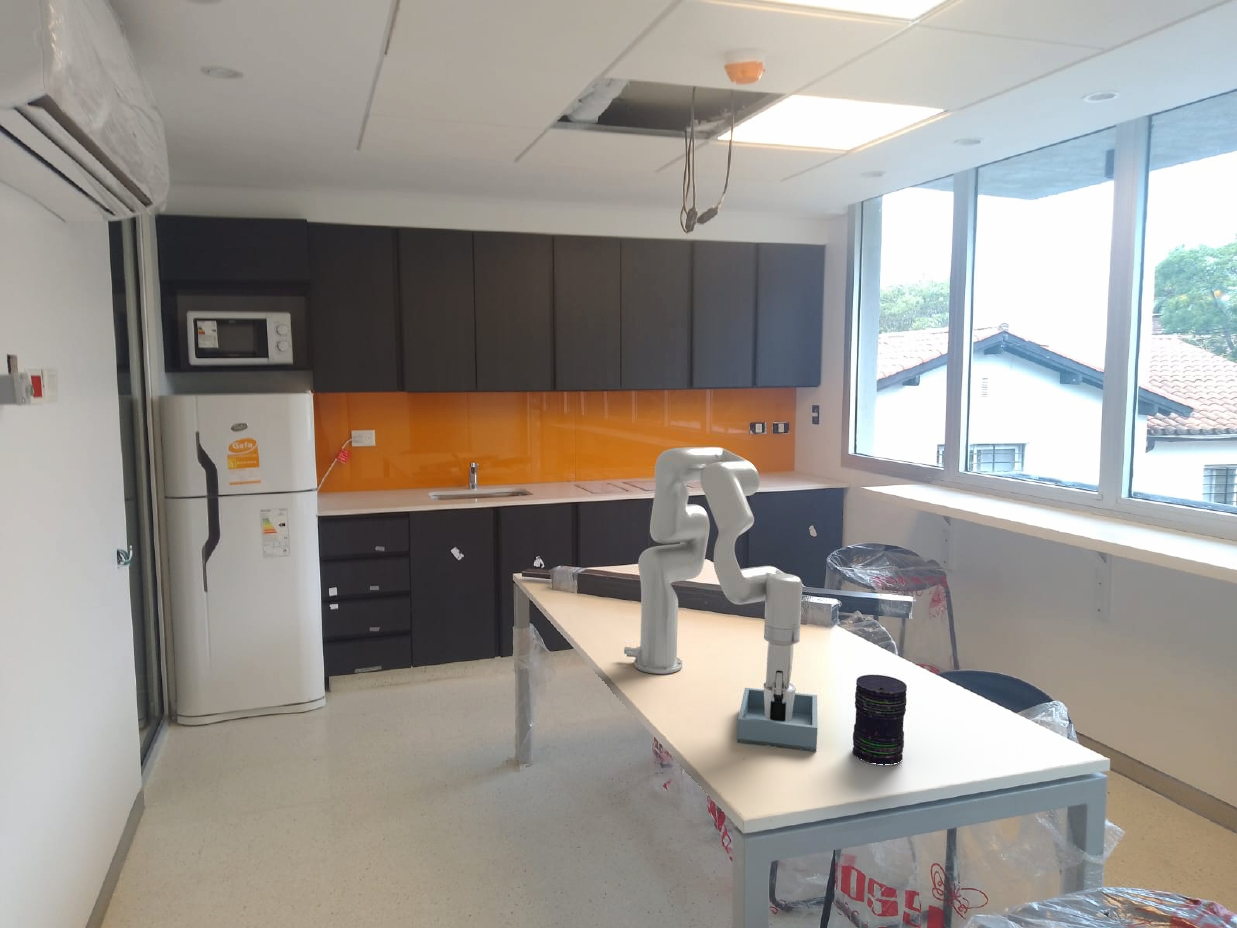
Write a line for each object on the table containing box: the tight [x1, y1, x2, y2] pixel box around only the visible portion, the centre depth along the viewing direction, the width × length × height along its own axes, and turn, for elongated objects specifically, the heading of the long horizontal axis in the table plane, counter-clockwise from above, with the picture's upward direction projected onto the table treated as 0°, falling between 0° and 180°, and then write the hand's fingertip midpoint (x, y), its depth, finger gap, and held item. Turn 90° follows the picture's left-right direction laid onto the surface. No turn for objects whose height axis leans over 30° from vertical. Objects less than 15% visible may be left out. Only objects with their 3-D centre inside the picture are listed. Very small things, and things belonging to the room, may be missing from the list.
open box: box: [736, 687, 818, 752], centre depth 179 cm, size 16×18×5 cm
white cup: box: [763, 681, 797, 722], centre depth 178 cm, size 7×7×7 cm
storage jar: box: [852, 674, 908, 765], centre depth 167 cm, size 10×10×15 cm
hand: (778, 713), depth 179 cm, fingers closed on white cup, 5 cm apart
